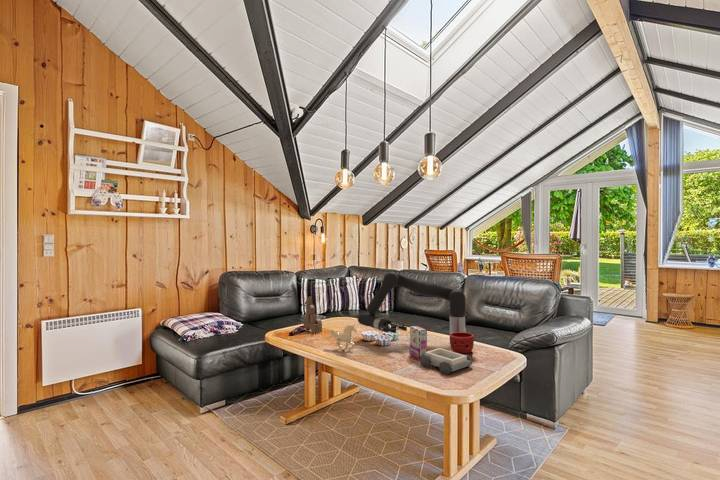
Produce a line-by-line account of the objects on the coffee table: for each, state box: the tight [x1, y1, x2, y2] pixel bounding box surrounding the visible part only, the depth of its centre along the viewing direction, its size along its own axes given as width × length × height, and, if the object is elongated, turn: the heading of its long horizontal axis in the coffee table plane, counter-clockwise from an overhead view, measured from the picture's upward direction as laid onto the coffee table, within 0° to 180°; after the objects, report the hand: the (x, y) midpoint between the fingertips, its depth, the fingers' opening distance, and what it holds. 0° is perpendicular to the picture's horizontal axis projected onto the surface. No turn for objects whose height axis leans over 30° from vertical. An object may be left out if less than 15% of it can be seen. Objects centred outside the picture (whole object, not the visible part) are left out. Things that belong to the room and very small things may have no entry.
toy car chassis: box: [419, 347, 473, 375], centre depth 196 cm, size 18×20×6 cm
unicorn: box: [329, 323, 358, 351], centre depth 226 cm, size 20×4×17 cm, turn 57°
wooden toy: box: [302, 296, 323, 334], centre depth 271 cm, size 16×7×25 cm, turn 43°
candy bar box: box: [409, 325, 428, 362], centre depth 211 cm, size 11×5×16 cm, turn 21°
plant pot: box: [449, 332, 475, 358], centre depth 213 cm, size 13×13×12 cm
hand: (401, 330), depth 221 cm, fingers open, 8 cm apart
